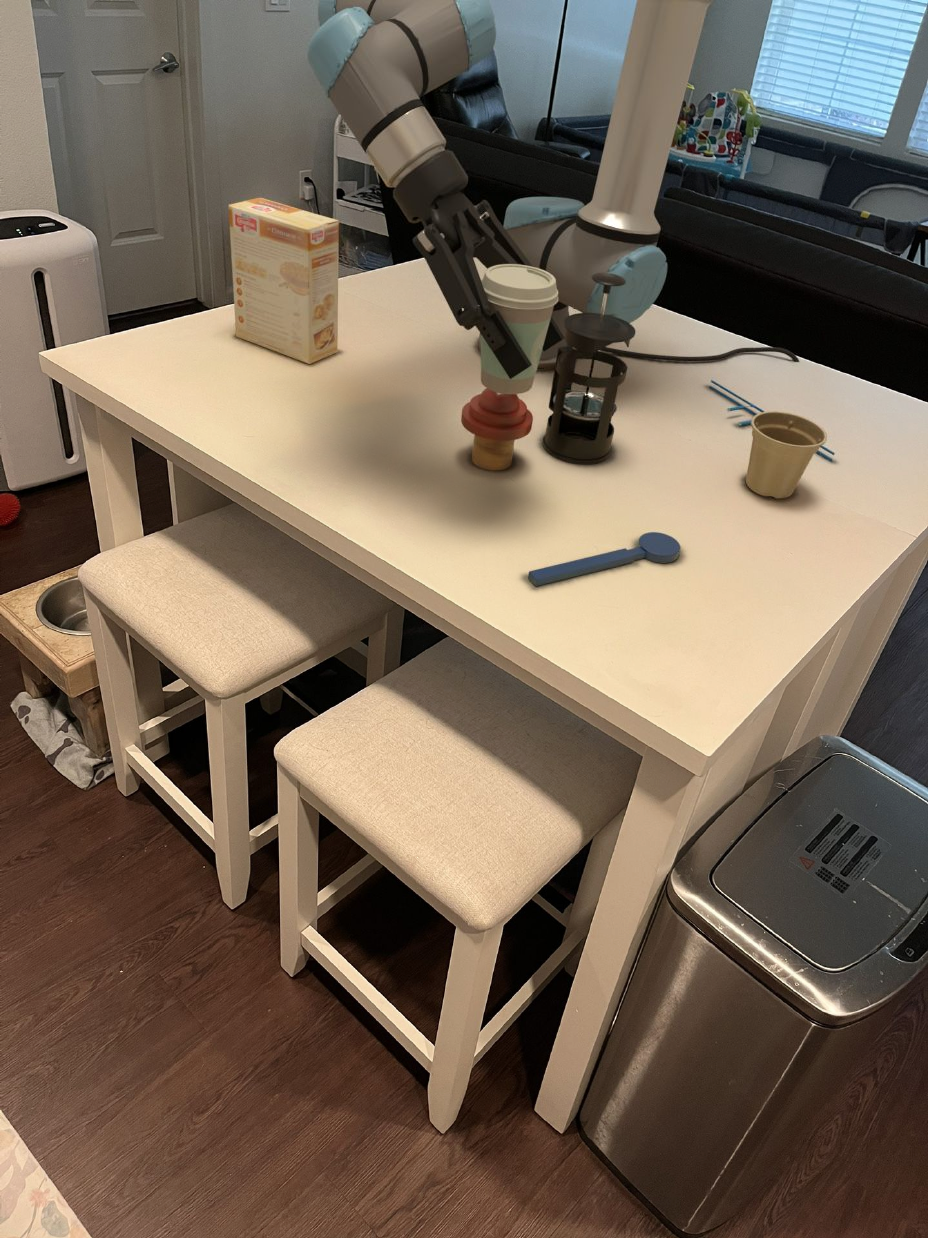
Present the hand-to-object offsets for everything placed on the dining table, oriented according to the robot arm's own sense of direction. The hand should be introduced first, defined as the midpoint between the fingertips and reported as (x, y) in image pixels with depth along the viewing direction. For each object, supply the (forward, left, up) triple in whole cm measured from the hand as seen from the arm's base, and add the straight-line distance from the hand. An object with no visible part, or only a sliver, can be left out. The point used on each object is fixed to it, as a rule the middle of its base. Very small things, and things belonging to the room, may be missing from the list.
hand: (538, 357), depth 100 cm
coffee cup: (+2, -3, -4) cm, 5 cm away
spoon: (-3, +14, -19) cm, 24 cm away
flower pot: (-34, +7, -19) cm, 40 cm away
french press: (-15, -11, -19) cm, 27 cm away
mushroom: (-2, -11, -19) cm, 22 cm away
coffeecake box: (+11, -53, -19) cm, 57 cm away
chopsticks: (-46, -8, -19) cm, 50 cm away
